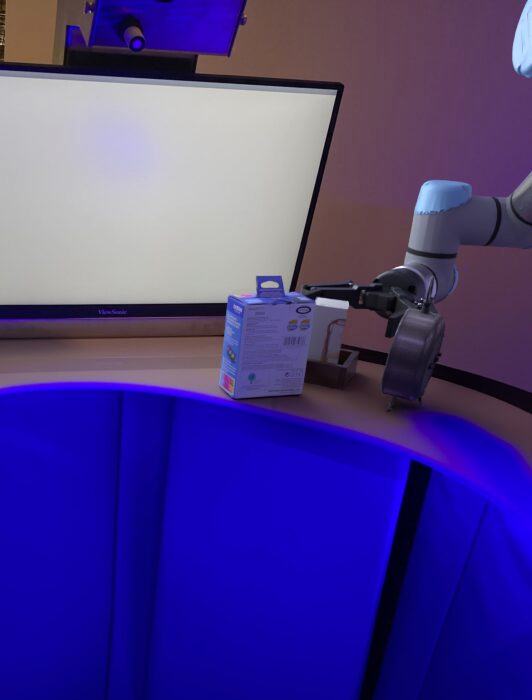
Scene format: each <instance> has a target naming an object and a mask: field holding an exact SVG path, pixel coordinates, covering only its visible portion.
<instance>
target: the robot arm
mask: <svg viewBox="0 0 532 700" xmlns="http://www.w3.org/2000/svg"><path fill="white" fill-rule="evenodd" d="M514 33H515V34H514V37H513V44H512V52H511V53H512V55H511V60H512V66H513V69H514V71H515V72H516V73H517V74H518V75H519V76H525V78H526V79H532V0H527V1H526V2H525V5H524V7H523V9H522V12H521V15H520V18H519V21H518V23H517V27H516V30H515V32H514ZM411 223H412V224H411V228H410V234H409V240H408V245H407V249H406V252H405V257H404V262H403V265H400V266H397V267H394V268H392V269H389V270H386V271H384V272H382V273H380V274H378V275H377V276H376V277H375V278H374V280H372V282H371V283H370V284H355V281H354V280H351V279H349V280H348V279H347V280H344V281H336V282H321V283H320V282H319V283H302V284H301V288H300V294H302V295H304V296H305V297H307V298H310V299H312V300H314V301H315V300H316V298H317V297H320V298H327V299H334V300H342V301H348V303H349V307H351V308H352V309H354V310H368V311H370V312H371V311H372V312H375V314H376V315H377V316H379V317H381V318H383V319H385V320H387V323H386V328H385V333H384V338H388V339H392V338H394V336H395V333H396V331H397V328H398V326H399V323H400V321H401V319H402V317H403V315H404V314H405V312H406V311H407V309H409V308H414V309H418V310H421V309H422V307H423V305H424V304H423V301H424V300H425V299H426V297H427V291H428V287H429V283H430V280H431V277H432V276H433V277H434V285H433V291H432V295H431V299H430V300H431V305H430V307H429V312H431V313H436V314H439V313H438V310H437V309H436V306H435V304H439V303H440V302H442V301H444V300H445V299H446V298H447V297H448V296H450V295H452V293H453V292H454V291H455V289H456V287H457V285H458V283H459V270H458V267H457V265H456V264H455V263H456V260H457V256H458V252H459V249H460V246H473V247H474V246H475V247H478V246H479V247H496V248H511V249H512V248H513V249H520V250H529V249H530V250H531V249H532V171H530V173H529V174H528V175H527V176H526V177H525V179H523V181H522V182H521V183H520V184H519V185H518V186H517V187H516V188H515V189H514V190H513V192H512V193H511V194H510V195H509V196H507V197H504V196H503V197H502V196H501V197H500V196H484V195H474V194H473V187H472V185H471V184H469V183H466V182H462V181H456V180H455V181H454V180H452V181H451V180H444V179H441V180H440V179H430V180H428V181H425V182H424V183H423V184H422V186H421V187H420V189H419V194H418V196H417V200H416V203H415V206H414V211H413V217H412V222H411Z"/></svg>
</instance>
